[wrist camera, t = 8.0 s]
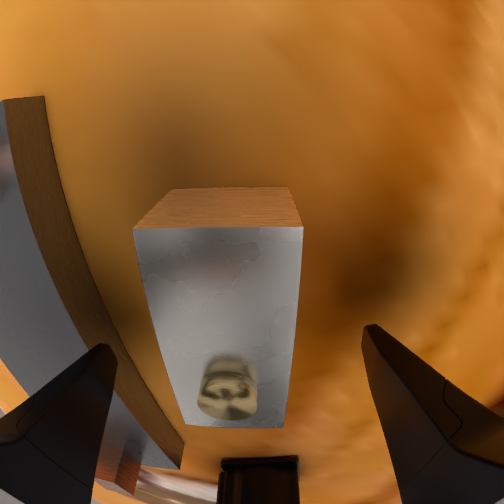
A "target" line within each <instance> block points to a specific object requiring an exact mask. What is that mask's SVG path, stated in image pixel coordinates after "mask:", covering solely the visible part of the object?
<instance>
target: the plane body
mask: <svg viewBox="0 0 504 504" xmlns="http://www.w3.org/2000/svg"><path fill="white" fill-rule="evenodd" d="M99 343H107V344H109V345H110V347H111V348H112V350H113V352H114V354H115V356H116V357H117V360H118V367H117V373H116V379H115V385H114V391H113V397H112V401H111V405H110V409H109V413H108V417H107V422H106V426H105V430H104V434H103V439H102V443H101V448H100V453H99V457H98V462H97V468H96V473H95V478H94V481H96V482H97V483H99V484H100V485H101V486H103V487H104V488H106V489H108V490H112V491H115V492H119V493H123V494H127V495H132V496H133V495H134V491H135V487H136V482H137V478H138V474H139V470H140V466H141V465H145V466H152V467H158V468H166V469H175V470H180V466H181V460H182V455H183V449H184V442H183V441H182V440H181V438H180V437H179V435H178V434H177V433H176V431H175V430H174V428H173V427H172V425H171V424H170V422H169V421H168V420H167V418H166V417H165V415H164V414H163V412H162V410H161V409H160V407H159V406H158V404H157V403H156V401H155V400H154V398H153V396H152V395H151V393H150V391H149V390H148V388H147V387H146V385H145V383H144V381H143V380H142V378H141V376H140V375H139V373H138V371H137V369H136V368H135V366H134V364H133V362H132V360H131V359H130V357H129V355H128V353H127V351H126V349H125V347H124V345H123V344H122V342H121V340H120V338H119V336H118V334H117V332H116V330H115V328H114V326H113V324H112V322H111V319H110V317H109V315H108V313H107V311H106V309H105V307H104V304H103V302H102V300H101V298H100V295H99V293H98V291H97V288H96V286H95V284H94V281H93V279H92V276H91V274H90V271H89V269H88V266H87V264H86V261H85V258H84V256H83V253H82V250H81V248H80V245H79V242H78V239H77V236H76V233H75V230H74V227H73V224H72V221H71V218H70V215H69V211H68V208H67V205H66V201H65V198H64V194H63V191H62V187H61V183H60V179H59V175H58V171H57V167H56V163H55V158H54V154H53V149H52V144H51V139H50V134H49V128H48V122H47V116H46V109H45V102H44V96H35V97H24V98H14V99H5V100H2V101H1V102H0V358H1V360H2V361H3V363H4V364H5V365H6V367H7V368H8V369H9V371H10V372H11V373H12V375H13V376H14V377H15V379H16V380H17V381H18V383H19V384H20V385H21V386H22V388H23V389H24V390H25V391H26V392H27V394H28V395H29V396H30V397H31V396H32V395H33V394H34V393H36V392H37V391H38V390H39V389H41V388H42V387H43V386H44V385H46V384H47V383H48V382H50V381H51V380H52V379H53V378H55V377H56V376H57V375H58V374H60V373H61V372H62V371H63V370H65V369H66V368H67V367H69V366H70V365H71V364H72V363H74V362H75V361H76V360H77V359H79V358H80V357H81V356H83V355H84V354H85V353H86V352H88V351H89V350H90V349H92V348H93V347H94V346H96V345H97V344H99Z"/></svg>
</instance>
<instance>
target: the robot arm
mask: <svg viewBox="0 0 504 504" xmlns="http://www.w3.org/2000/svg"><path fill="white" fill-rule="evenodd" d="M361 347H362V353H363V358H364V362H365V367H366V372H367V377H368V382H369V387H370V390H371V394H372V397H373V400H374V403H375V406H376V409H377V413H378V416H379V419H380V422H381V426H382V429H383V432H384V436H385V439H386V443H387V446H388V450H389V453H390V457H391V460H392V464H393V468H394V472H395V475H396V479H397V483H398V487H399V491H400V496H401V500H402V504H504V417H502V416H500V415H498V414H497V413H495V412H494V411H492V410H490V409H489V408H487V407H486V406H484V405H482V404H481V403H479V402H478V401H476V400H475V399H473V398H472V397H470V396H469V395H467V394H466V393H464V392H463V391H462V390H460V389H459V388H458V387H456V386H455V385H454V384H452V383H451V382H450V381H449V380H447V379H446V380H445V377H444V376H442V375H441V374H440V373H438V372H437V371H436V370H435V369H433V368H432V367H431V366H430V365H428V364H427V363H426V362H425V361H423V360H422V359H421V358H419V357H418V356H417V355H416V354H414V353H413V352H412V351H411V350H409V349H408V348H407V347H405V346H404V345H403V344H402V343H400V342H399V341H398V340H396V339H395V338H394V337H393V336H391V335H390V334H389V333H387V332H386V331H385V330H384V329H382V328H381V327H380V326H378V325H377V324H372V325H366V326H365V327H364V329H363V336H362V343H361ZM117 367H118V360H117V357H116V356H115V354H114V352H113V350H112V348H111V347H110V345H109V344H107V343H99V344H97V345H96V346H94V347H93V348H92V349H90V350H89V351H88V352H86V353H85V354H84V355H83V356H81V357H80V358H79V359H77V360H76V361H75V362H74V363H72V364H71V365H70V366H69V367H67V368H66V369H65V370H63V371H62V372H61V373H60V374H58V375H57V376H56V377H55V378H53V379H52V380H51V381H50V382H48V383H47V384H46V385H44V386H43V387H42V388H41V389H39V390H38V391H37V392H36V393H34V394H33V395H32V396H31V397H29V398H28V399H27V400H26V401H24V402H23V403H22V404H20V405H19V406H18V407H16V408H15V409H13V410H12V411H10V412H9V413H7V414H6V415H5V416H3V417H2V418H0V504H91V497H92V491H93V490H92V489H93V484H94V478H95V473H96V468H97V462H98V457H99V453H100V448H101V443H102V439H103V434H104V430H105V426H106V422H107V417H108V413H109V409H110V405H111V401H112V397H113V391H114V385H115V379H116V373H117ZM221 467H222V468H223V470H224V471H225V472H220V473H219V480H218V491H217V503H216V504H300V496H299V458H297V457H289V458H276V459H257V460H222V461H221Z"/></svg>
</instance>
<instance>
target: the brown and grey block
mask: <svg viewBox="0 0 504 504" xmlns="http://www.w3.org/2000/svg"><path fill="white" fill-rule="evenodd" d="M303 229H304V227H303V224H302V221H301V219H300V216H299V213H298V210H297V208H296V205H295V203H294V200H293V197H292V195H291V192H290V189H289V187H221V188H191V189H171V190H170V191H169V192H168V193H167V194H166V195H165V196H164V197H163V198H162V199H161V200H160V201H159V202H158V203H157V204H156V205H155V206H154V207H153V208H152V209H151V210H150V211H149V212H148V213H147V214H146V215H145V216H144V217H143V218H142V219H141V220H140V221H139V222H138V223H137V224H136V225H135V226H134V227H133V228H132V232H133V238H134V243H135V248H136V253H137V258H138V263H139V268H140V273H141V277H142V282H143V286H144V290H145V295H146V299H147V303H148V307H149V311H150V315H151V318H152V322H153V326H154V330H155V333H156V337H157V340H158V344H159V347H160V351H161V354H162V357H163V360H164V364H165V367H166V370H167V373H168V376H169V379H170V382H171V385H172V388H173V391H174V394H175V397H176V400H177V403H178V405H179V408H180V411H181V414H182V416H183V419H184V421H185V424H187V425H197V426H210V427H227V428H283V426H284V419H285V412H286V405H287V397H288V390H289V382H290V374H291V365H292V357H293V348H294V338H295V329H296V319H297V308H298V297H299V285H300V273H301V260H302V245H303Z"/></svg>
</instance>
